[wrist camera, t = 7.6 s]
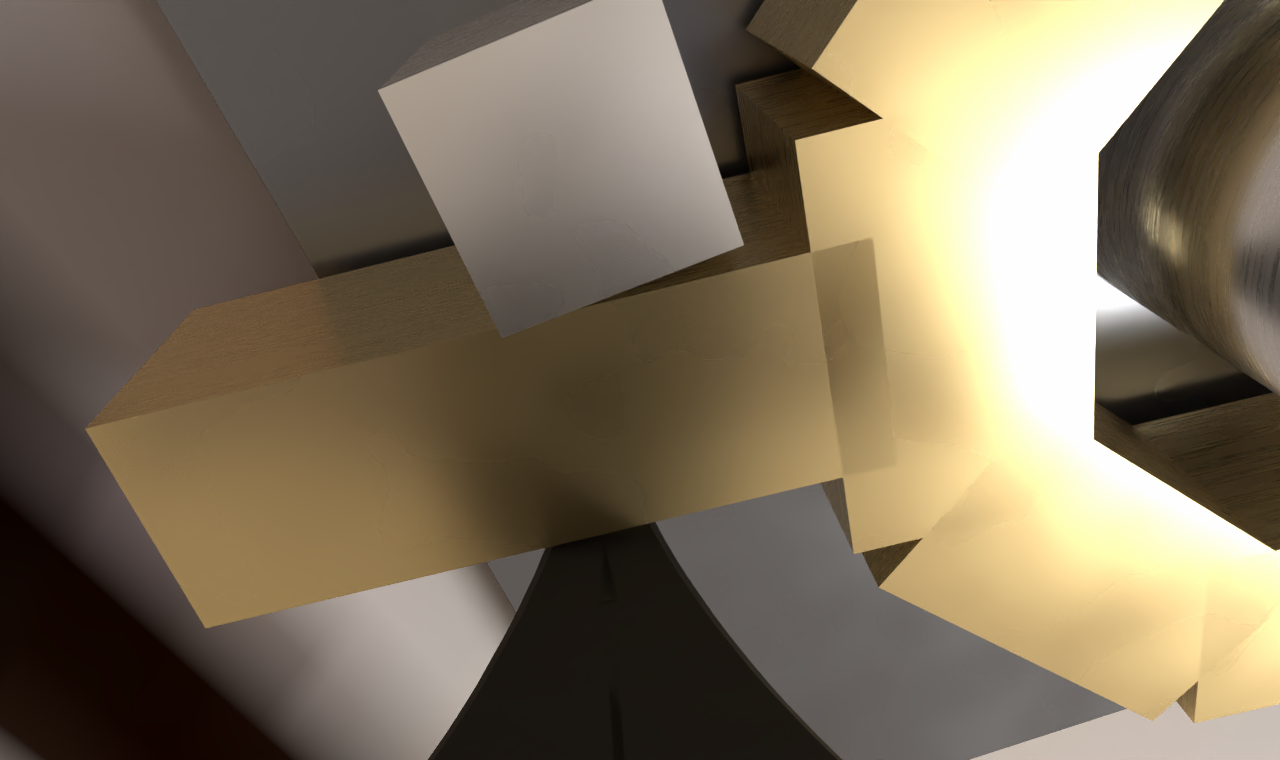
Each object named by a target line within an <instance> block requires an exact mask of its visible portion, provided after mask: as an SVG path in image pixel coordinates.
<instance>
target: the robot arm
mask: <svg viewBox="0 0 1280 760" xmlns="http://www.w3.org/2000/svg"><path fill="white" fill-rule="evenodd" d="M428 760H843V759H842V758H840V757H839V756H838V755H837V754H836V753H835V752H834V751H833V750H832V749H831V748H830V747H829V746H828V745H827V744H826V743H825V742H824V741H823V740H822V739H821V738H820V737H819V736H818V735H817V734H816V733H815V732H814V731H813V730H812V729H811V728H810V727H809V726H808V725H807V724H806V723H805V722H804V721H803V720H802V718H801V717H800V716H799V715H798V714H797V713H796V712H795V711H794V710H793V709H792V708H791V707H790V706H789V705H788V704H787V703H786V702H785V701H784V699H783V698H782V697H781V696H780V695H779V694H778V693H777V692H776V691H775V689H774V688H773V687H772V686H771V685H770V684H769V683H768V681H767V680H766V679H765V678H764V677H763V676H762V674H761V673H760V672H759V671H758V670H757V669H756V667H755V666H754V665H753V664H752V663H751V661H750V660H749V659H748V658H747V656H746V655H745V654H744V653H743V651H742V650H741V649H740V648H739V646H738V645H737V644H736V643H735V642H734V640H733V639H732V638H731V637H730V635H729V634H728V633H727V631H726V630H725V629H724V627H723V626H722V625H721V623H720V622H719V621H718V619H717V618H716V617H715V615H714V614H713V613H712V611H711V610H710V608H709V607H708V605H707V604H706V603H705V601H704V600H703V598H702V597H701V595H700V594H699V593H698V591H697V590H696V588H695V587H694V585H693V584H692V582H691V581H690V580H689V578H688V577H687V575H686V574H685V572H684V570H683V569H682V567H681V566H680V564H679V563H678V561H677V559H676V558H675V556H674V554H673V553H672V551H671V549H670V548H669V546H668V544H667V542H666V541H665V539H664V537H663V535H662V533H661V532H660V530H659V528H658V526H657V524H656V522H652V523H648V524H644V525H640V526H636V527H631V528H627V529H623V530H619V531H614V532H610V533H606V534H602V535H597V536H593V537H589V538H585V539H581V540H576V541H572V542H568V543H564V544H559V545H555V546H551V547H547V548H545V550H544V552H543V555H542V557H541V560H540V562H539V565H538V567H537V570H536V572H535V574H534V576H533V579H532V581H531V583H530V585H529V587H528V589H527V591H526V593H525V595H524V598H523V600H522V602H521V604H520V606H519V608H518V610H517V612H516V615H515V617H514V619H513V621H512V623H511V625H510V627H509V628H508V630H507V632H506V634H505V636H504V638H503V639H502V641H501V643H500V645H499V647H498V648H497V650H496V652H495V654H494V655H493V657H492V659H491V661H490V662H489V664H488V666H487V668H486V670H485V671H484V673H483V675H482V677H481V678H480V680H479V682H478V684H477V686H476V687H475V689H474V691H473V692H472V694H471V695H470V697H469V699H468V700H467V702H466V703H465V705H464V707H463V708H462V710H461V711H460V713H459V715H458V716H457V718H456V719H455V721H454V722H453V724H452V725H451V727H450V728H449V730H448V731H447V733H446V734H445V736H444V737H443V739H442V740H441V742H440V743H439V745H438V746H437V747H436V749H435V750H434V752H433V753H432V755H431V756H430V758H429V759H428Z"/></svg>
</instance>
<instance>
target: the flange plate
mask: <svg viewBox="0 0 1280 760" xmlns="http://www.w3.org/2000/svg"><path fill="white" fill-rule="evenodd" d="M156 1H157V3H158V5H159V6H160V8H161V10H162V12H163V13H164V15H165V17H166V18H167V20H168V22H169V23H170V25H171V27H172V29H173V30H174V32H175V34H176V35H177V37H178V39H179V40H180V42H181V44H182V46H183V47H184V49H185V51H186V52H187V54H188V56H189V57H190V59H191V61H192V63H193V64H194V66H195V68H196V69H197V71H198V73H199V74H200V76H201V78H202V80H203V81H204V83H205V85H206V86H207V88H208V90H209V91H210V93H211V95H212V97H213V98H214V100H215V102H216V103H217V105H218V107H219V108H220V110H221V112H222V114H223V115H224V117H225V119H226V120H227V122H228V124H229V125H230V127H231V129H232V131H233V132H234V134H235V136H236V137H237V139H238V141H239V142H240V144H241V146H242V147H243V149H244V151H245V153H246V154H247V156H248V158H249V159H250V161H251V163H252V164H253V166H254V168H255V170H256V171H257V173H258V175H259V176H260V178H261V180H262V181H263V183H264V185H265V187H266V188H267V190H268V192H269V193H270V195H271V197H272V198H273V200H274V202H275V204H276V205H277V207H278V209H279V210H280V212H281V214H282V215H283V217H284V219H285V221H286V222H287V224H288V226H289V227H290V229H291V231H292V232H293V234H294V236H295V238H296V239H297V241H298V243H299V244H300V246H301V248H302V249H303V251H304V253H305V255H306V256H307V258H308V260H309V261H310V263H311V265H312V266H313V268H314V270H315V272H316V273H317V275H318V277H319V278H324V277H328V276H332V275H336V274H340V273H344V272H348V271H352V270H356V269H360V268H364V267H368V266H372V265H377V264H381V263H385V262H389V261H393V260H397V259H401V258H405V257H409V256H413V255H417V254H421V253H425V252H429V251H433V250H437V249H441V248H446V247H450V246H454V245H455V246H456V248H457V250H458V252H459V254H460V256H461V258H462V260H463V262H464V264H465V266H466V268H467V270H468V272H469V274H470V276H471V278H472V280H473V282H474V284H475V286H476V288H477V290H478V292H479V294H480V296H481V298H482V300H483V302H484V304H485V306H486V308H487V310H488V312H489V314H490V316H491V318H492V320H493V322H494V324H495V326H496V328H497V330H498V332H499V334H500V336H501V338H504V337H507V336H509V335H512V334H514V333H517V332H520V331H522V330H525V329H527V328H530V327H533V326H535V325H538V324H540V323H543V322H546V321H548V320H551V319H553V318H556V317H559V316H561V315H564V314H566V313H569V312H572V311H574V310H577V309H579V308H582V307H585V306H587V305H590V304H592V303H595V302H598V301H600V300H603V299H605V298H608V297H611V296H613V295H616V294H618V293H621V292H624V291H626V290H629V289H631V288H634V287H637V286H639V285H642V284H644V283H647V282H650V281H652V280H655V279H657V278H660V277H663V276H665V275H668V274H670V273H673V272H676V271H678V270H681V269H683V268H686V267H689V266H691V265H694V264H696V263H699V262H701V261H704V260H707V259H709V258H712V257H714V256H717V255H720V254H722V253H725V252H727V251H730V250H733V249H735V248H738V247H740V246H743V245H744V243H743V240H742V237H741V234H740V231H739V228H738V225H737V222H736V219H735V216H734V213H733V210H732V207H731V204H730V201H729V198H728V195H727V192H726V190H725V187H724V184H723V181H722V179H726V178H730V177H734V176H738V175H742V174H746V173H750V172H749V166H748V160H747V154H746V148H745V142H744V136H743V131H742V125H741V119H740V113H739V107H738V101H737V95H736V89H735V85H736V84H740V83H744V82H748V81H752V80H756V79H760V78H764V77H768V76H772V75H776V74H780V73H784V72H788V71H792V70H796V69H800V67H798V66H797V65H796V64H794V63H793V62H791V61H790V60H788V59H787V58H786V57H784V56H783V55H781V54H780V53H778V52H777V51H775V50H774V49H773V48H771V47H770V46H768V45H767V44H765V43H764V42H763V41H761V40H760V39H758V38H757V37H755V36H754V35H753V34H751V33H750V32H748V31H747V30H746V29H747V27H748V25H749V24H750V22H751V21H752V19H753V18H754V16H755V14H756V13H757V11H758V10H759V8H760V6H761V5H762V3H763V2H764V0H156ZM1273 392H1274V393H1275V394H1277V395H1278V396H1280V0H1224V1H1223V2H1222V3H1221V5H1220V6H1219V7H1218V8H1217V9H1216V11H1215V12H1214V13H1213V14H1212V15H1211V17H1210V18H1209V19H1208V20H1207V22H1206V23H1205V24H1204V25H1203V26H1202V28H1201V29H1200V30H1199V31H1198V32H1197V34H1196V35H1195V36H1194V37H1193V39H1192V40H1191V41H1190V42H1189V43H1188V45H1187V46H1186V47H1185V48H1184V50H1183V51H1182V52H1181V53H1180V54H1179V56H1178V57H1177V58H1176V59H1175V60H1174V62H1173V63H1172V64H1171V65H1170V67H1169V68H1168V69H1167V70H1166V71H1165V73H1164V74H1163V75H1162V76H1161V77H1160V79H1159V80H1158V81H1157V82H1156V84H1155V85H1154V86H1153V87H1152V88H1151V90H1150V91H1149V92H1148V93H1147V94H1146V96H1145V97H1144V98H1143V99H1142V101H1141V102H1140V103H1139V104H1138V105H1137V107H1136V108H1135V109H1134V110H1133V111H1132V113H1131V114H1130V115H1129V116H1128V118H1127V119H1126V120H1125V121H1124V122H1123V124H1122V125H1121V126H1120V127H1119V128H1118V130H1117V131H1116V132H1115V133H1114V135H1113V136H1112V137H1111V138H1110V139H1109V141H1108V142H1107V143H1106V144H1105V145H1104V147H1103V148H1102V149H1101V150H1100V152H1099V153H1098V190H1097V252H1096V314H1095V376H1094V402H1096V403H1097V404H1099V405H1100V406H1102V407H1104V408H1105V409H1107V410H1108V411H1110V412H1111V413H1113V414H1115V415H1116V416H1118V417H1119V418H1121V419H1123V420H1124V421H1126V422H1127V423H1129V424H1130V425H1132V426H1133V425H1138V424H1142V423H1146V422H1150V421H1155V420H1159V419H1163V418H1167V417H1171V416H1176V415H1180V414H1184V413H1188V412H1193V411H1197V410H1201V409H1205V408H1210V407H1214V406H1218V405H1222V404H1227V403H1231V402H1235V401H1239V400H1243V399H1248V398H1252V397H1256V396H1260V395H1265V394H1269V393H1273ZM656 524H657V526H658V528H659V530H660V532H661V533H662V535H663V537H664V539H665V541H666V542H667V544H668V546H669V548H670V549H671V551H672V553H673V554H674V556H675V558H676V559H677V561H678V563H679V564H680V566H681V567H682V569H683V570H684V572H685V574H686V575H687V577H688V578H689V580H690V581H691V582H692V584H693V585H694V587H695V588H696V590H697V591H698V593H699V594H700V595H701V597H702V598H703V600H704V601H705V603H706V604H707V605H708V607H709V608H710V610H711V611H712V613H713V614H714V615H715V617H716V618H717V619H718V621H719V622H720V623H721V625H722V626H723V627H724V629H725V630H726V631H727V633H728V634H729V635H730V637H731V638H732V639H733V640H734V642H735V643H736V644H737V645H738V646H739V648H740V649H741V650H742V651H743V653H744V654H745V655H746V656H747V658H748V659H749V660H750V661H751V663H752V664H753V665H754V666H755V667H756V669H757V670H758V671H759V672H760V673H761V674H762V676H763V677H764V678H765V679H766V680H767V681H768V683H769V684H770V685H771V686H772V687H773V688H774V689H775V691H776V692H777V693H778V694H779V695H780V696H781V697H782V698H783V699H784V701H785V702H786V703H787V704H788V705H789V706H790V707H791V708H792V709H793V710H794V711H795V712H796V713H797V714H798V715H799V716H800V717H801V718H802V720H803V721H804V722H805V723H806V724H807V725H808V726H809V727H810V728H811V729H812V730H813V731H814V732H815V733H816V734H817V735H818V736H819V737H820V738H821V739H822V740H823V741H824V742H825V743H826V744H827V745H828V746H829V747H830V748H831V749H832V750H833V751H834V752H835V753H836V754H837V755H838V756H839V757H840V758H842V759H843V760H969V759H972V758H975V757H979V756H982V755H985V754H988V753H991V752H994V751H997V750H1000V749H1003V748H1006V747H1009V746H1013V745H1016V744H1019V743H1022V742H1025V741H1028V740H1031V739H1034V738H1037V737H1040V736H1044V735H1047V734H1050V733H1053V732H1056V731H1059V730H1062V729H1065V728H1068V727H1071V726H1074V725H1078V724H1081V723H1084V722H1087V721H1090V720H1093V719H1096V718H1099V717H1102V716H1105V715H1109V714H1112V713H1115V712H1118V711H1121V710H1124V709H1127V708H1125V707H1123V706H1121V705H1119V704H1117V703H1115V702H1113V701H1111V700H1109V699H1107V698H1104V697H1102V696H1100V695H1098V694H1096V693H1094V692H1092V691H1090V690H1088V689H1086V688H1084V687H1082V686H1080V685H1078V684H1076V683H1074V682H1072V681H1070V680H1068V679H1065V678H1063V677H1061V676H1059V675H1057V674H1055V673H1053V672H1051V671H1049V670H1047V669H1045V668H1043V667H1041V666H1039V665H1037V664H1035V663H1033V662H1031V661H1029V660H1026V659H1024V658H1022V657H1020V656H1018V655H1016V654H1014V653H1012V652H1010V651H1008V650H1006V649H1004V648H1002V647H1000V646H998V645H996V644H994V643H992V642H990V641H988V640H985V639H983V638H981V637H979V636H977V635H975V634H973V633H971V632H969V631H967V630H965V629H963V628H961V627H959V626H957V625H955V624H953V623H951V622H949V621H946V620H944V619H942V618H940V617H938V616H936V615H934V614H932V613H930V612H928V611H926V610H924V609H922V608H920V607H918V606H916V605H914V604H912V603H910V602H907V601H905V600H903V599H901V598H899V597H897V596H895V595H893V594H891V593H889V592H887V591H885V590H883V589H881V588H879V587H878V585H877V583H876V581H875V579H874V577H873V575H872V573H871V571H870V569H869V567H868V565H867V562H866V560H865V558H864V556H863V554H862V552H861V553H856V554H854V553H853V551H852V549H851V547H850V545H849V543H848V541H847V538H846V536H845V534H844V532H843V530H842V528H841V526H840V524H839V522H838V519H837V517H836V515H835V513H834V511H833V509H832V507H831V505H830V503H829V500H828V498H827V496H826V494H825V492H824V490H823V488H822V486H821V483H817V484H813V485H809V486H805V487H800V488H796V489H792V490H788V491H783V492H779V493H775V494H771V495H767V496H762V497H758V498H754V499H750V500H745V501H741V502H737V503H733V504H728V505H724V506H720V507H716V508H712V509H707V510H703V511H699V512H695V513H690V514H686V515H682V516H678V517H674V518H669V519H665V520H661V521H657V522H656ZM544 550H545V548H543V549H538V550H534V551H530V552H526V553H521V554H517V555H513V556H509V557H504V558H500V559H496V560H492V561H488V562H487V564H488V565H489V567H490V569H491V571H492V572H493V574H494V576H495V577H496V579H497V581H498V582H499V584H500V586H501V588H502V589H503V591H504V593H505V594H506V596H507V598H508V599H509V601H510V603H511V605H512V606H513V608H514V610H515V611H516V612H517V610H518V608H519V606H520V604H521V602H522V600H523V598H524V595H525V593H526V591H527V589H528V587H529V585H530V583H531V581H532V579H533V576H534V574H535V572H536V570H537V567H538V565H539V562H540V560H541V557H542V555H543V552H544Z"/></svg>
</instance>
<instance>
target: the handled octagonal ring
mask: <svg viewBox="0 0 1280 760" xmlns="http://www.w3.org/2000/svg"><path fill="white" fill-rule="evenodd" d="M1223 1H1224V0H764V2H763V3H762V5H761V6H760V8H759V10H758V11H757V13H756V14H755V16H754V18H753V19H752V21H751V22H750V24H749V25H748V27H747V29H746V30H747V31H748V32H750V33H751V34H753V35H754V36H755V37H757V38H758V39H760V40H761V41H763V42H764V43H765V44H767V45H768V46H770V47H771V48H773V49H774V50H775V51H777V52H778V53H780V54H781V55H783V56H784V57H786V58H787V59H788V60H790V61H791V62H793V63H794V64H796V65H797V66H798V67H800V69H796V70H792V71H788V72H784V73H780V74H776V75H772V76H768V77H764V78H760V79H756V80H752V81H748V82H744V83H740V84H736V85H735V89H736V95H737V101H738V107H739V113H740V119H741V125H742V131H743V136H744V142H745V148H746V154H747V160H748V166H749V172H750V173H746V174H742V175H738V176H734V177H730V178H726V179H722V181H723V184H724V187H725V190H726V192H727V195H728V198H729V201H730V204H731V207H732V210H733V213H734V216H735V219H736V222H737V225H738V228H739V231H740V234H741V237H742V240H743V243H744V245H743V246H740V247H738V248H735V249H733V250H730V251H727V252H725V253H722V254H720V255H717V256H714V257H712V258H709V259H707V260H704V261H701V262H699V263H696V264H694V265H691V266H689V267H686V268H683V269H681V270H678V271H676V272H673V273H670V274H668V275H665V276H663V277H660V278H657V279H655V280H652V281H650V282H647V283H644V284H642V285H639V286H637V287H634V288H631V289H629V290H626V291H624V292H621V293H618V294H616V295H613V296H611V297H608V298H605V299H603V300H600V301H598V302H595V303H592V304H590V305H587V306H585V307H582V308H579V309H577V310H574V311H572V312H569V313H566V314H564V315H561V316H559V317H556V318H553V319H551V320H548V321H546V322H543V323H540V324H538V325H535V326H533V327H530V328H527V329H525V330H522V331H520V332H517V333H514V334H512V335H509V336H507V337H504V338H501V336H500V334H499V332H498V330H497V328H496V326H495V324H494V322H493V320H492V318H491V316H490V314H489V312H488V310H487V308H486V306H485V304H484V302H483V300H482V298H481V296H480V294H479V292H478V290H477V288H476V286H475V284H474V282H473V280H472V278H471V276H470V274H469V272H468V270H467V268H466V266H465V264H464V262H463V260H462V258H461V256H460V254H459V252H458V250H457V248H456V246H455V245H454V246H450V247H446V248H441V249H437V250H433V251H429V252H425V253H421V254H417V255H413V256H409V257H405V258H401V259H397V260H393V261H389V262H385V263H381V264H377V265H372V266H368V267H364V268H360V269H356V270H352V271H348V272H344V273H340V274H336V275H332V276H328V277H324V278H320V279H316V280H312V281H308V282H303V283H299V284H295V285H291V286H287V287H283V288H279V289H275V290H271V291H267V292H263V293H259V294H255V295H251V296H247V297H243V298H239V299H234V300H230V301H226V302H222V303H218V304H214V305H210V306H206V307H202V308H198V309H194V310H193V311H192V312H191V313H190V315H189V316H188V317H187V318H186V319H185V320H184V321H183V322H182V323H181V324H180V326H179V327H178V328H177V329H176V330H175V331H174V332H173V333H172V334H171V335H170V336H169V338H168V339H167V340H166V341H165V342H164V343H163V344H162V345H161V346H160V347H159V349H158V350H157V351H156V352H155V353H154V354H153V355H152V356H151V357H150V358H149V360H148V361H147V362H146V363H145V364H144V365H143V366H142V367H141V368H140V369H139V370H138V372H137V373H136V374H135V375H134V376H133V377H132V378H131V379H130V380H129V381H128V383H127V384H126V385H125V386H124V387H123V388H122V389H121V390H120V391H119V392H118V393H117V395H116V396H115V397H114V398H113V399H112V400H111V401H110V402H109V403H108V404H107V406H106V407H105V408H104V409H103V410H102V411H101V412H100V413H99V414H98V415H97V416H96V418H95V419H94V420H93V421H92V422H91V423H90V424H89V425H88V426H87V427H86V429H85V430H86V431H87V433H88V435H89V436H90V438H91V439H92V441H93V443H94V444H95V446H96V448H97V449H98V451H99V453H100V454H101V456H102V458H103V459H104V461H105V463H106V464H107V466H108V468H109V469H110V471H111V473H112V474H113V476H114V477H115V479H116V481H117V482H118V484H119V486H120V487H121V489H122V491H123V492H124V494H125V496H126V497H127V499H128V501H129V502H130V504H131V506H132V507H133V509H134V511H135V512H136V514H137V516H138V517H139V519H140V520H141V522H142V524H143V525H144V527H145V529H146V530H147V532H148V534H149V535H150V537H151V539H152V540H153V542H154V544H155V545H156V547H157V549H158V550H159V552H160V554H161V555H162V557H163V559H164V560H165V562H166V563H167V565H168V567H169V568H170V570H171V572H172V573H173V575H174V577H175V578H176V580H177V582H178V583H179V585H180V587H181V588H182V590H183V592H184V593H185V595H186V597H187V598H188V600H189V602H190V603H191V605H192V606H193V608H194V610H195V611H196V613H197V615H198V616H199V618H200V620H201V621H202V623H203V625H204V626H205V628H209V627H213V626H217V625H221V624H226V623H230V622H234V621H238V620H242V619H247V618H251V617H255V616H259V615H264V614H268V613H272V612H276V611H280V610H285V609H289V608H293V607H297V606H302V605H306V604H310V603H314V602H319V601H323V600H327V599H331V598H335V597H340V596H344V595H348V594H352V593H357V592H361V591H365V590H369V589H373V588H378V587H382V586H386V585H390V584H395V583H399V582H403V581H407V580H412V579H416V578H420V577H424V576H428V575H433V574H437V573H441V572H445V571H450V570H454V569H458V568H462V567H466V566H471V565H475V564H479V563H483V562H488V561H492V560H496V559H500V558H504V557H509V556H513V555H517V554H521V553H526V552H530V551H534V550H538V549H543V548H547V547H551V546H555V545H559V544H564V543H568V542H572V541H576V540H581V539H585V538H589V537H593V536H597V535H602V534H606V533H610V532H614V531H619V530H623V529H627V528H631V527H636V526H640V525H644V524H648V523H652V522H657V521H661V520H665V519H669V518H674V517H678V516H682V515H686V514H690V513H695V512H699V511H703V510H707V509H712V508H716V507H720V506H724V505H728V504H733V503H737V502H741V501H745V500H750V499H754V498H758V497H762V496H767V495H771V494H775V493H779V492H783V491H788V490H792V489H796V488H800V487H805V486H809V485H813V484H817V483H821V486H822V488H823V490H824V492H825V494H826V496H827V498H828V500H829V503H830V505H831V507H832V509H833V511H834V513H835V515H836V517H837V519H838V522H839V524H840V526H841V528H842V530H843V532H844V534H845V536H846V538H847V541H848V543H849V545H850V547H851V549H852V551H853V553H854V554H856V553H861V552H862V554H863V556H864V558H865V560H866V562H867V565H868V567H869V569H870V571H871V573H872V575H873V577H874V579H875V581H876V583H877V585H878V587H879V588H881V589H883V590H885V591H887V592H889V593H891V594H893V595H895V596H897V597H899V598H901V599H903V600H905V601H907V602H910V603H912V604H914V605H916V606H918V607H920V608H922V609H924V610H926V611H928V612H930V613H932V614H934V615H936V616H938V617H940V618H942V619H944V620H946V621H949V622H951V623H953V624H955V625H957V626H959V627H961V628H963V629H965V630H967V631H969V632H971V633H973V634H975V635H977V636H979V637H981V638H983V639H985V640H988V641H990V642H992V643H994V644H996V645H998V646H1000V647H1002V648H1004V649H1006V650H1008V651H1010V652H1012V653H1014V654H1016V655H1018V656H1020V657H1022V658H1024V659H1026V660H1029V661H1031V662H1033V663H1035V664H1037V665H1039V666H1041V667H1043V668H1045V669H1047V670H1049V671H1051V672H1053V673H1055V674H1057V675H1059V676H1061V677H1063V678H1065V679H1068V680H1070V681H1072V682H1074V683H1076V684H1078V685H1080V686H1082V687H1084V688H1086V689H1088V690H1090V691H1092V692H1094V693H1096V694H1098V695H1100V696H1102V697H1104V698H1107V699H1109V700H1111V701H1113V702H1115V703H1117V704H1119V705H1121V706H1123V707H1125V708H1127V709H1129V710H1131V711H1133V712H1135V713H1137V714H1139V715H1141V716H1143V717H1145V718H1148V719H1150V720H1152V721H1153V720H1154V719H1155V718H1157V717H1158V716H1159V715H1160V714H1161V713H1162V712H1163V711H1165V710H1166V709H1167V708H1168V707H1169V706H1170V705H1171V704H1172V703H1174V702H1175V701H1177V702H1178V703H1179V705H1180V706H1181V707H1182V709H1183V710H1184V711H1185V712H1186V714H1187V715H1188V716H1189V717H1190V719H1191V720H1192V721H1193V722H1194V723H1197V722H1201V721H1206V720H1210V719H1215V718H1219V717H1223V716H1228V715H1232V714H1237V713H1241V712H1245V711H1250V710H1254V709H1259V708H1263V707H1268V706H1272V705H1276V704H1280V396H1278V395H1277V394H1275V393H1274V392H1273V393H1269V394H1265V395H1260V396H1256V397H1252V398H1248V399H1243V400H1239V401H1235V402H1231V403H1227V404H1222V405H1218V406H1214V407H1210V408H1205V409H1201V410H1197V411H1193V412H1188V413H1184V414H1180V415H1176V416H1171V417H1167V418H1163V419H1159V420H1155V421H1150V422H1146V423H1142V424H1138V425H1133V426H1132V425H1130V424H1129V423H1127V422H1126V421H1124V420H1123V419H1121V418H1119V417H1118V416H1116V415H1115V414H1113V413H1111V412H1110V411H1108V410H1107V409H1105V408H1104V407H1102V406H1100V405H1099V404H1097V403H1096V402H1094V376H1095V314H1096V252H1097V190H1098V153H1099V152H1100V150H1101V149H1102V148H1103V147H1104V145H1105V144H1106V143H1107V142H1108V141H1109V139H1110V138H1111V137H1112V136H1113V135H1114V133H1115V132H1116V131H1117V130H1118V128H1119V127H1120V126H1121V125H1122V124H1123V122H1124V121H1125V120H1126V119H1127V118H1128V116H1129V115H1130V114H1131V113H1132V111H1133V110H1134V109H1135V108H1136V107H1137V105H1138V104H1139V103H1140V102H1141V101H1142V99H1143V98H1144V97H1145V96H1146V94H1147V93H1148V92H1149V91H1150V90H1151V88H1152V87H1153V86H1154V85H1155V84H1156V82H1157V81H1158V80H1159V79H1160V77H1161V76H1162V75H1163V74H1164V73H1165V71H1166V70H1167V69H1168V68H1169V67H1170V65H1171V64H1172V63H1173V62H1174V60H1175V59H1176V58H1177V57H1178V56H1179V54H1180V53H1181V52H1182V51H1183V50H1184V48H1185V47H1186V46H1187V45H1188V43H1189V42H1190V41H1191V40H1192V39H1193V37H1194V36H1195V35H1196V34H1197V32H1198V31H1199V30H1200V29H1201V28H1202V26H1203V25H1204V24H1205V23H1206V22H1207V20H1208V19H1209V18H1210V17H1211V15H1212V14H1213V13H1214V12H1215V11H1216V9H1217V8H1218V7H1219V6H1220V5H1221V3H1222V2H1223Z"/></svg>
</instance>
